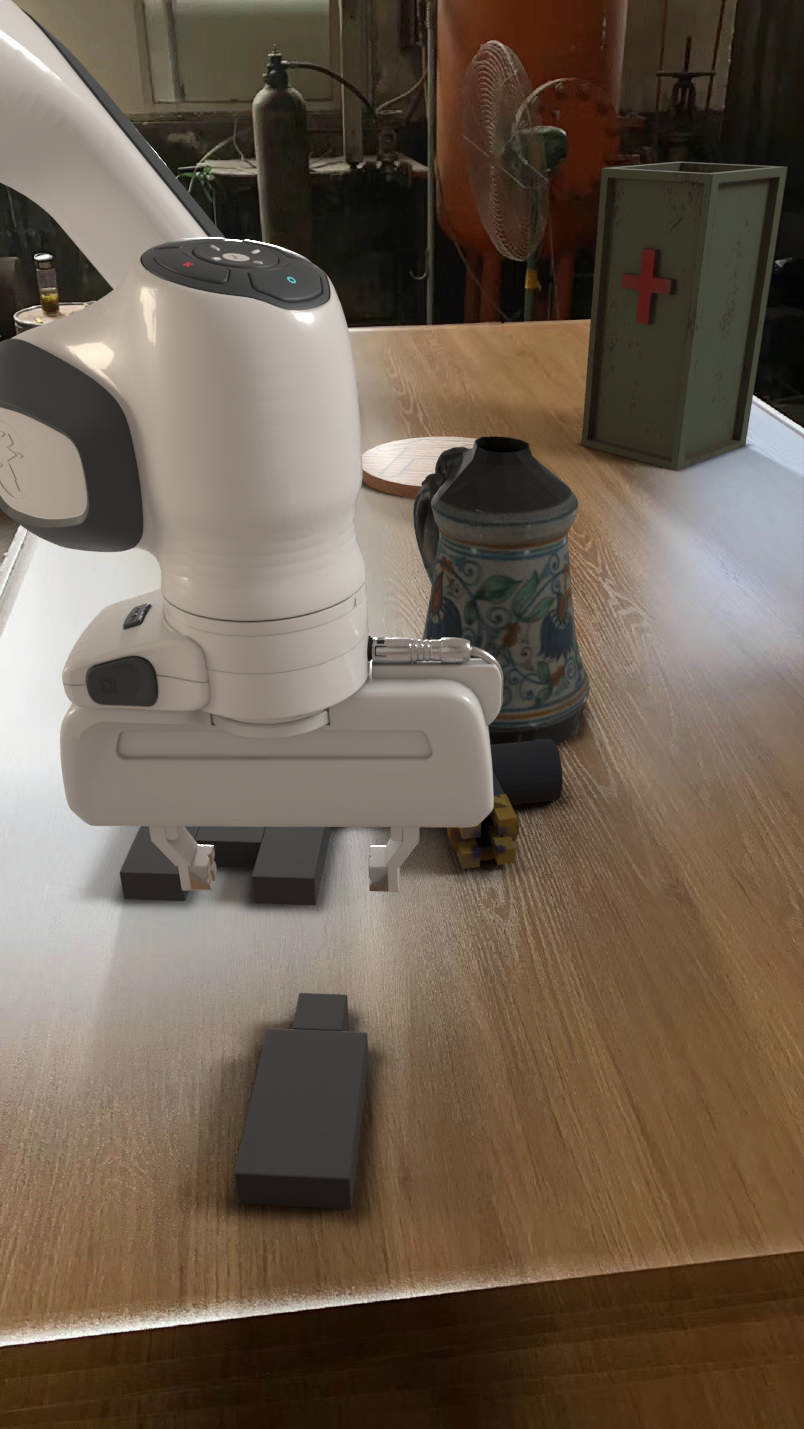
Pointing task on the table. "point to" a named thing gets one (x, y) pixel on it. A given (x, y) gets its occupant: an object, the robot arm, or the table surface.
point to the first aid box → (679, 308)
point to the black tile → (306, 1110)
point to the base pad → (236, 862)
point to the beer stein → (506, 580)
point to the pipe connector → (510, 800)
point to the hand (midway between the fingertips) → (292, 883)
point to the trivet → (406, 463)
